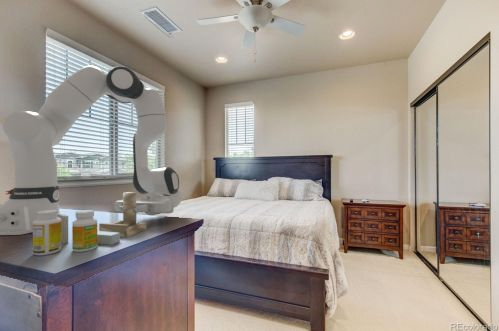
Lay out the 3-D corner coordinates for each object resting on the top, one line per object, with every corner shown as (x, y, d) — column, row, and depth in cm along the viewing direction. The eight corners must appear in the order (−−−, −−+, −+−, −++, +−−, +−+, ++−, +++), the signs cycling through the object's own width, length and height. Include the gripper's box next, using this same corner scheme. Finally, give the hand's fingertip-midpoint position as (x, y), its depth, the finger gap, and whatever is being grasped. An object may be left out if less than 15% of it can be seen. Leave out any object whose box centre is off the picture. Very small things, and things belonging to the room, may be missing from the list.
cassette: (48, 237, 75) (47, 212, 75) (55, 236, 76) (55, 211, 76) (62, 244, 68) (62, 216, 68) (70, 243, 69) (70, 215, 69)
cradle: (120, 227, 86) (120, 217, 86) (146, 229, 83) (146, 219, 83) (99, 235, 77) (99, 223, 77) (126, 237, 74) (126, 225, 74)
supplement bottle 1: (63, 247, 66) (63, 208, 66) (59, 253, 61) (59, 211, 61) (36, 250, 63) (35, 210, 63) (30, 258, 58) (29, 214, 58)
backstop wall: (85, 238, 73) (85, 230, 73) (119, 241, 70) (119, 232, 70) (75, 241, 70) (75, 232, 70) (111, 244, 67) (111, 235, 67)
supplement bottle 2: (85, 253, 61) (84, 213, 61) (66, 251, 62) (66, 212, 62) (102, 246, 66) (102, 209, 66) (85, 244, 67) (85, 209, 67)
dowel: (121, 227, 81) (121, 193, 80) (125, 224, 84) (125, 192, 84) (134, 226, 81) (134, 193, 81) (137, 223, 85) (137, 191, 85)
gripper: (130, 194, 98) (101, 199, 84) (177, 195, 93) (154, 201, 80) (130, 210, 98) (101, 217, 84) (177, 212, 93) (154, 220, 80)
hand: (127, 209), depth 82 cm, fingers closed on dowel, 4 cm apart
